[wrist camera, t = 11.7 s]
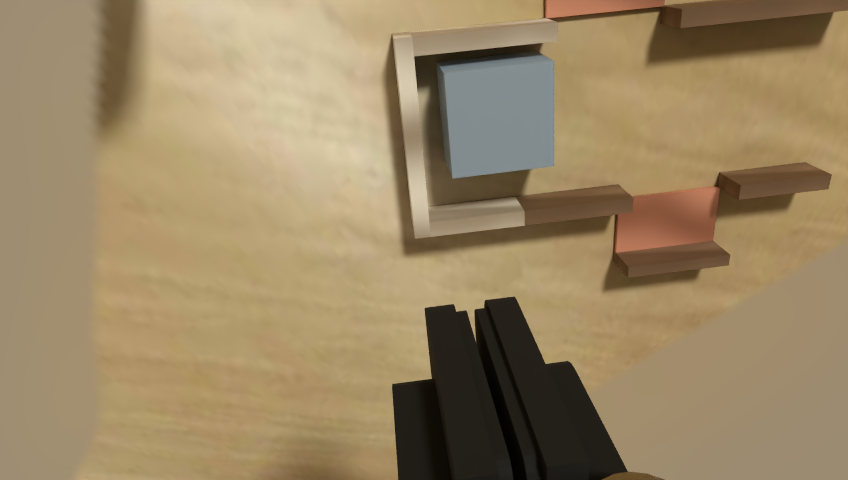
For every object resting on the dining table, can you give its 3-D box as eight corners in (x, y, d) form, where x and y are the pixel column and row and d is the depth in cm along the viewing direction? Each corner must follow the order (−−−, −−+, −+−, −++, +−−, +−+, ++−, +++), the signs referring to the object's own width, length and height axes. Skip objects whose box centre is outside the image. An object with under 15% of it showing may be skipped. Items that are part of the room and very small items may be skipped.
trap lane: (789, 239, 43) (813, 254, 40) (418, 284, 41) (421, 303, 39) (859, -106, 33) (895, -110, 31) (382, -59, 32) (383, -61, 30)
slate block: (535, 146, 38) (553, 166, 35) (443, 157, 38) (452, 178, 34) (534, 50, 36) (554, 60, 32) (435, 61, 35) (444, 73, 32)
